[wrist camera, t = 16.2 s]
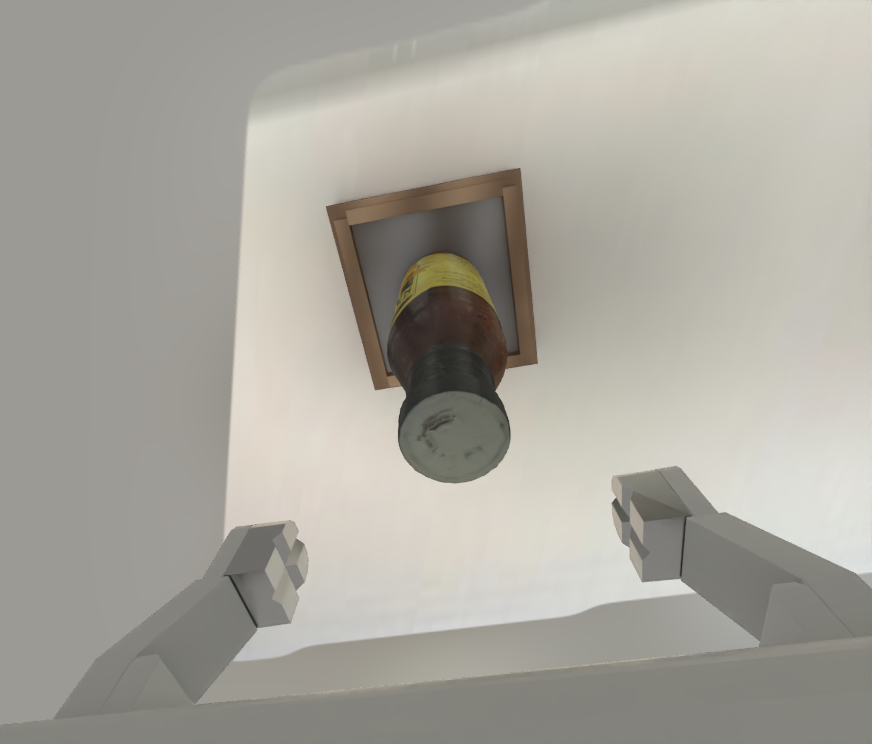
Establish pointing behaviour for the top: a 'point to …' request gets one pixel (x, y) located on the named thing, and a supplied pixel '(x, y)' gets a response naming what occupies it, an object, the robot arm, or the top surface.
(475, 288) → the sauce bottle
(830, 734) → the robot arm
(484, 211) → the tray
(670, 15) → the top surface
